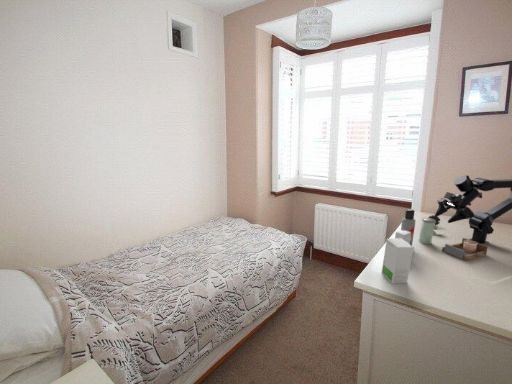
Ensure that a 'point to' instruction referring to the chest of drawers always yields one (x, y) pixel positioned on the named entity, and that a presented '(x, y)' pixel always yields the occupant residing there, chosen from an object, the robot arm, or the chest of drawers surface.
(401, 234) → the skincare box
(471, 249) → the jar
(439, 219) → the artificial flower
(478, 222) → the robot arm
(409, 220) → the lotion bottle
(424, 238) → the mint green grey canister
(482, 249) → the wooden tray
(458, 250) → the bar
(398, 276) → the skincare box
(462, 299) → the chest of drawers surface
